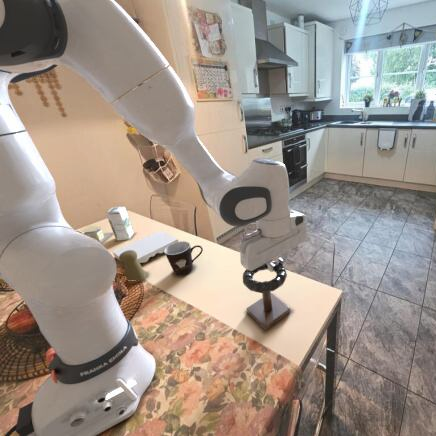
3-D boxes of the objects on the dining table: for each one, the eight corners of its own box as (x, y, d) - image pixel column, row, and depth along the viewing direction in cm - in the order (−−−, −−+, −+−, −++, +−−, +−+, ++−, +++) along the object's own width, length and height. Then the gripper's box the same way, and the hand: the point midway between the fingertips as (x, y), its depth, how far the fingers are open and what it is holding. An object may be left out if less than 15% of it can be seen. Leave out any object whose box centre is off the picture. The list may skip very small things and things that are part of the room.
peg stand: (265, 330, 65) (262, 301, 61) (247, 312, 71) (242, 284, 67) (290, 311, 71) (288, 283, 66) (271, 296, 77) (268, 269, 72)
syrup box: (121, 235, 117) (110, 207, 111) (135, 233, 118) (124, 206, 112) (116, 241, 112) (104, 212, 106) (130, 239, 113) (119, 211, 107)
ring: (260, 302, 58) (259, 293, 57) (235, 279, 66) (233, 271, 65) (295, 279, 65) (295, 271, 64) (268, 261, 73) (268, 253, 72)
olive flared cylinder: (137, 284, 84) (127, 258, 79) (123, 282, 85) (111, 257, 81) (150, 273, 90) (140, 248, 85) (136, 272, 91) (126, 247, 86)
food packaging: (131, 271, 92) (179, 245, 106) (127, 263, 90) (177, 239, 104) (115, 258, 100) (162, 236, 114) (112, 251, 99) (160, 230, 113)
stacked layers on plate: (112, 233, 119) (108, 223, 116) (100, 243, 111) (96, 233, 108) (91, 235, 118) (86, 225, 116) (78, 245, 110) (72, 234, 108)
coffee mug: (167, 278, 86) (159, 255, 82) (176, 264, 94) (170, 241, 90) (200, 276, 87) (194, 253, 82) (206, 262, 94) (201, 240, 90)
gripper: (246, 243, 53) (253, 291, 59) (310, 213, 65) (310, 256, 72) (231, 233, 58) (239, 279, 64) (294, 207, 70) (295, 247, 76)
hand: (277, 266), depth 68 cm, fingers closed on ring, 2 cm apart
